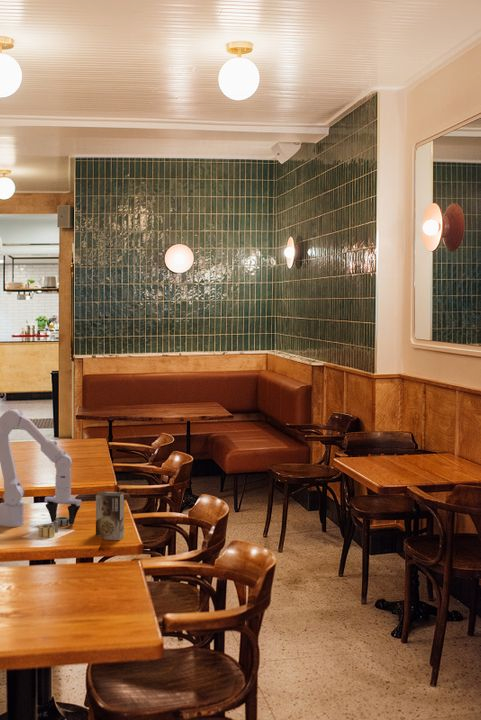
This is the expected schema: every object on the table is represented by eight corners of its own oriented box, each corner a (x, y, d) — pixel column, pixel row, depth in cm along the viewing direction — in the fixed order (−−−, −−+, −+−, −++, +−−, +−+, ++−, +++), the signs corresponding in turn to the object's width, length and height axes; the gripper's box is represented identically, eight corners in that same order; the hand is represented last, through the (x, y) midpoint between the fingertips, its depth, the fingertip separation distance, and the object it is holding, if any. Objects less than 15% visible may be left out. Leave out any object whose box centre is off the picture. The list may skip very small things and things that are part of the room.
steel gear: (52, 528, 305) (52, 519, 305) (60, 524, 310) (60, 516, 310) (65, 529, 303) (65, 520, 303) (72, 526, 308) (72, 517, 308)
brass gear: (37, 537, 286) (37, 528, 286) (40, 533, 292) (40, 524, 292) (53, 537, 286) (53, 528, 286) (56, 533, 292) (56, 524, 292)
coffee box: (124, 536, 296) (125, 491, 295) (119, 540, 290) (120, 495, 289) (99, 534, 297) (100, 490, 296) (94, 539, 290) (95, 494, 290)
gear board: (21, 540, 287) (21, 525, 286) (46, 530, 302) (46, 516, 302) (51, 544, 283) (51, 529, 283) (75, 533, 298) (75, 519, 298)
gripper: (85, 486, 307) (85, 522, 308) (52, 483, 312) (51, 518, 313) (76, 490, 301) (75, 526, 301) (41, 486, 305) (41, 522, 306)
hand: (62, 523), depth 306 cm, fingers open, 7 cm apart
